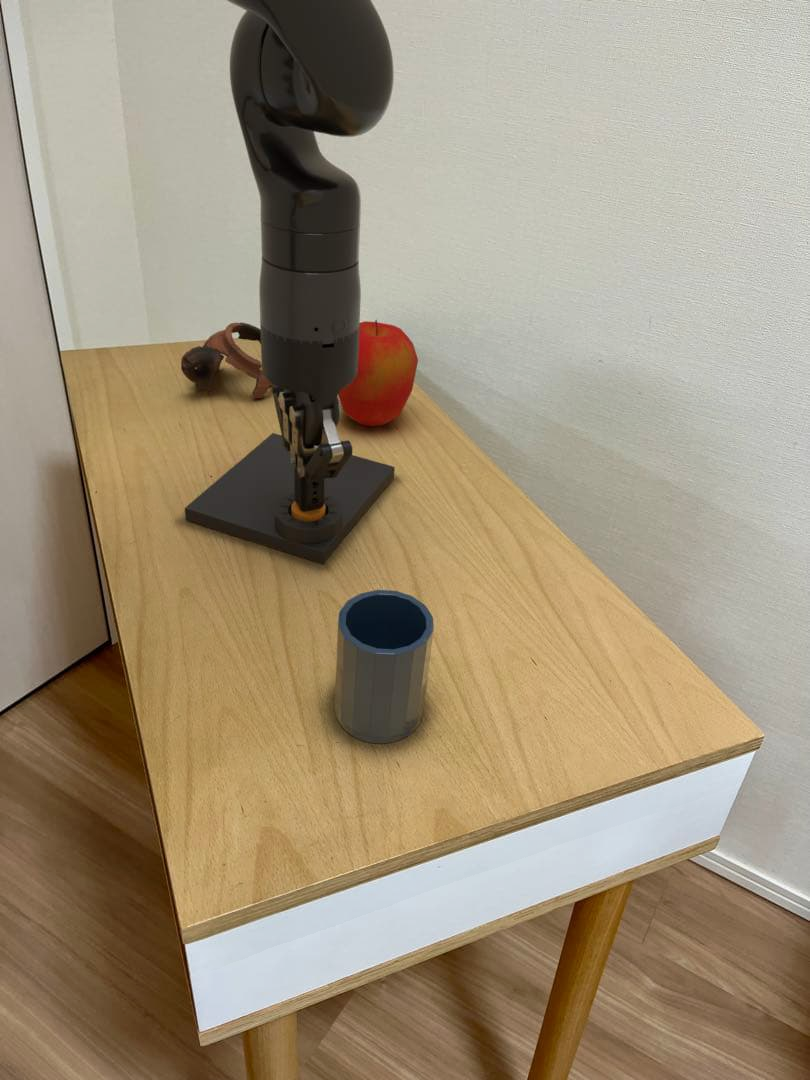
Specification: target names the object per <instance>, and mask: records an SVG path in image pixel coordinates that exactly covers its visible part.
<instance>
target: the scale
mask: <svg viewBox="0 0 810 1080" xmlns="http://www.w3.org/2000/svg"><path fill="white" fill-rule="evenodd" d="M395 469H396V468H395V466H393V465H390V464H387V463H386V464H385V463H382V462H379V461H376V460H372V459H368V458H364V457H360V456H357V455H353V454H352V455H351V457H350V458H349V459H348V461H347V462H346V464H345V465H344V467H343V468H342V469H341V471H340V472H339V474H338V475H337V477H335V478H326V479H324V504H325V507H326V509H325V517H324V518H323V519H320V520H317V521H301V520H297V519H294V518H293V517H292V516H291V506H292V504H293V502H294V501H295V487H294V468H293V466H292V464H291V462H290V451H286V450H285V447H284V446H283V438H282V434H278V433H275V432H272V433H271V434H270V435H268V436H267V437H266V438H264V440H263V441H262V442H261V443H260V444H258V445H257V446H256V447H255V448H253V449H252V450H251V451H250V452H248V453H247V455H245V456H244V457H243V458H242V459H240V460H239V461H238V462H237V463H236V464H234V465H233V466H232V467H231V468H230V469H229V470H227V471H226V472H225V473H224V474H223V475H222V476H220V477H219V478H218V479H217V480H216V481H215V482H213V483H212V484H211V485H210V486H209V487H208V488H206V489H205V490H204V491H203V492H202V493H201V494H199V495H198V496H197V497H196V498H195V499H194V500H192V501H191V502H190V503H189V504H188V505H187V506H185V508H184V513H185V520H186V521H187V522H191V523H193V524H197V525H199V526H203V527H206V528H209V529H213V530H215V531H218V532H221V533H225V534H228V535H231V536H233V537H237V538H240V539H243V540H245V541H250V542H252V543H256V544H259V545H262V546H264V547H268V548H271V549H275V550H278V551H280V552H284V553H287V554H290V555H293V556H296V557H299V558H302V559H306V560H309V561H312V562H314V563H317V564H321V565H323V564H325V562H326V561H327V560H328V559H329V558H330V556H331V555H332V554H333V553H334V552H335V550H336V549H337V548H338V546H339V545H340V544H341V543H342V541H344V539H345V538H346V537H347V536H348V534H349V533H350V532H351V531H352V529H354V527H355V526H356V525H357V524H358V522H359V521H360V520H361V519H362V518H363V516H364V515H365V514H366V512H368V510H369V509H370V508H371V507H372V506H373V504H374V503H375V502H376V500H378V499H379V497H380V496H381V495H382V494H383V492H384V491H385V490H386V489H387V487H389V485H390V484H391V482H393V480H394V479H395Z"/></svg>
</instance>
